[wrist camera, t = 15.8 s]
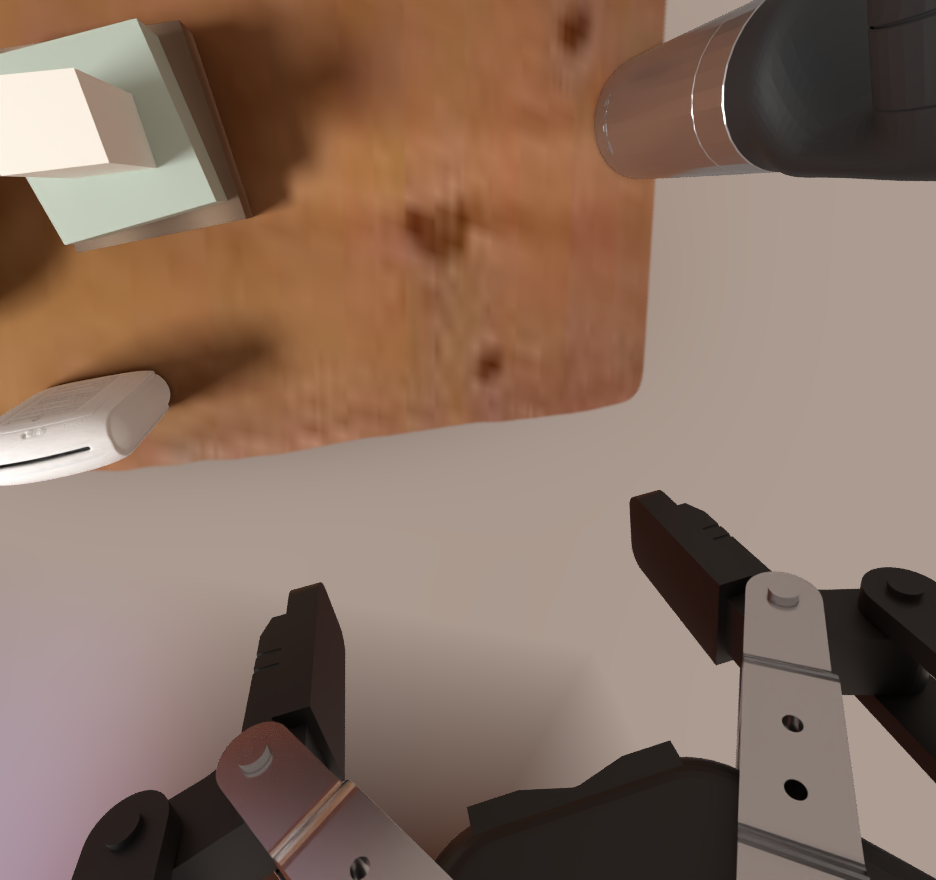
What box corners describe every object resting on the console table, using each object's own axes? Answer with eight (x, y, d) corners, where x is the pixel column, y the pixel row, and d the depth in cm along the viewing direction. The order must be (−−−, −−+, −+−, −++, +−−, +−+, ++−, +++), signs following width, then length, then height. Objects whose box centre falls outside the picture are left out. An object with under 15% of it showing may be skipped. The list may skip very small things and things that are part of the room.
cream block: (132, 94, 32) (73, 67, 25) (156, 168, 34) (109, 162, 27) (42, 103, 32) (-44, 79, 25) (72, 178, 33) (1, 176, 26)
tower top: (157, 36, 35) (136, 18, 31) (227, 200, 39) (216, 201, 36) (0, 77, 34) (-40, 64, 30) (90, 240, 38) (64, 245, 35)
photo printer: (56, 433, 46) (-34, 508, 35) (31, 387, 45) (-72, 450, 34) (179, 409, 48) (130, 473, 37) (160, 363, 46) (102, 416, 35)
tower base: (194, 36, 38) (179, 20, 34) (254, 216, 43) (246, 218, 40) (16, 65, 37) (-20, 51, 33) (100, 247, 42) (77, 252, 39)
